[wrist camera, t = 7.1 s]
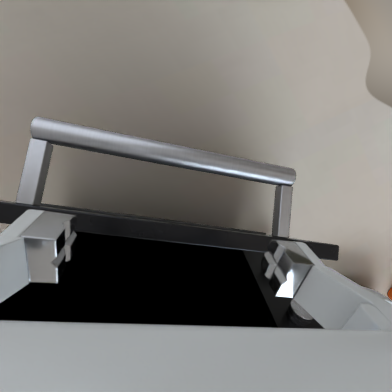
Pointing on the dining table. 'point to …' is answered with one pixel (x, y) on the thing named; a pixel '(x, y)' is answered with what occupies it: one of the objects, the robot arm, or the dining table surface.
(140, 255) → the toaster oven
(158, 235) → the oven door
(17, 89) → the dining table surface
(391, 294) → the paper cup
